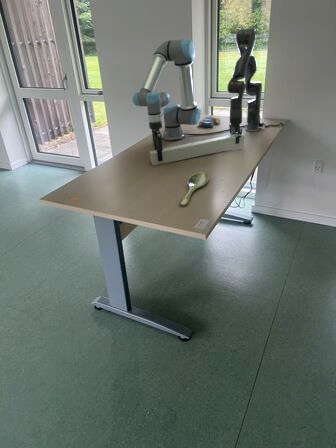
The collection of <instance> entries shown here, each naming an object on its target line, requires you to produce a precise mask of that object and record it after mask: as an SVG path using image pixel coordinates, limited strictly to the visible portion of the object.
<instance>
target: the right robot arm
mask: <svg viewBox="0 0 336 448" xmlns="http://www.w3.org/2000/svg"><path fill="white" fill-rule="evenodd" d="M235 39H236V41H235V42H236V46H237V51H238V52H239V58H238V59H237V60H236V62H235V64H234V69H233V73H232V75H231V78H230V80H229V81H228V83H227V89H226V90H227V92H228V94H230V95H238V96H235V97H232V98H231V99H230V101H229V102H230V103H229V105H230V106H229V124H228V126H229V127H228V129H230V130H229V135H233V134H235V136H236V144H239V138H240V137H241V136H242V134H243V128H242V127H240V126H241V124H242V123H243V98H244V95H245V94H246V96H248V97H254V98H253V99H251V100H249V101H247V103H246V122H245V125H246V126H245V130H246V131H248V132H256V131H259V130H260V128H264V127H265V128H268V127H279V126H280V125H282V126H283V125H285V124H284V123H283V122H280V123H278V124H268V125H266V123H264V121H261V101H262V93H263V92H262V91H263V83H262V82H261V81H251V80H252V79H253V77H254V76H255V74H256V72H257V70H258V64H257V59H256V57H255V56H254V55H253V54H252V53H253V51H254V47H255V44H256V40H257V31H256V29H255V28H243V29H239V30H237V31H236V33H235ZM243 80H244V81H243Z"/></svg>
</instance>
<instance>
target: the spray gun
mask: <svg viewBox="0 0 336 448" xmlns="http://www.w3.org/2000/svg"><path fill="white" fill-rule="evenodd" d="M220 123H221V118H219V117H216V116H205V117H204V118H203V119H201V120H199V122H198V126H200V127H205V128H209V127H214V126H215V124H217V125H218V124H220Z"/></svg>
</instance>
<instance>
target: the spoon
mask: <svg viewBox="0 0 336 448" xmlns="http://www.w3.org/2000/svg"><path fill="white" fill-rule="evenodd" d="M209 180H210V176H209V174H208V173H206V172H203V171H200V172H199V171H198V172H195V173H194V174H192V175H191V176H189V178H188V180H187V185H188V187H189V188H188V189H189V190H188V192H187V193H186V195H185V196H184V197H183V198H182V200H181V202H180V206H183V207H185V206H187V205H188V203H189V201H190V199H191V197H192V195H193V193H194V191H196V190H197V189H199V188H201V187H203V186H205V185H206V184H207V183H208V182H209Z"/></svg>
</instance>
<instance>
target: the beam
mask: <svg viewBox="0 0 336 448" xmlns="http://www.w3.org/2000/svg"><path fill="white" fill-rule="evenodd" d="M243 147H245V134H244V133H242V136H241V137H240V138H239V144H236V136H235V134H233V135H231V134H228V135H223V136H218V137H214V138H209V139H208V138H207V139H204V140H203V139H202V140H199V141H194V142H188V143H184V144H183V143H182V144H179V145H174V146H170V147H169V146H168V147H164V148H163V150H162V158H163V161H158V155H157V151H156V150H155V149H154V150H149V157H150V161H151V162H150V163H151V165H152V166H159V165H164V164H168V163H173V162H177V161H182V160H183V161H184V160H186V159H192V158H196V157H200V156H206V155H210V154H216V153H220V152H224V151H230V150H234V149H235V150H236V149H239V148H243Z"/></svg>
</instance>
